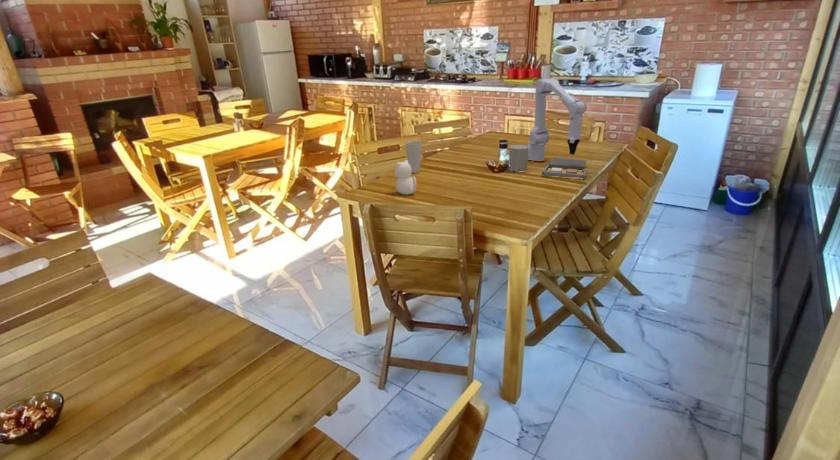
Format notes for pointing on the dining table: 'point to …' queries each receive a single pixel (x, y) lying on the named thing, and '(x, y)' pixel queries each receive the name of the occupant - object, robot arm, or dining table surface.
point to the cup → (414, 155)
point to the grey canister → (518, 157)
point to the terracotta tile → (572, 171)
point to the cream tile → (557, 170)
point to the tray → (562, 173)
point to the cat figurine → (405, 178)
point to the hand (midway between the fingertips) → (572, 154)
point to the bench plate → (567, 163)
